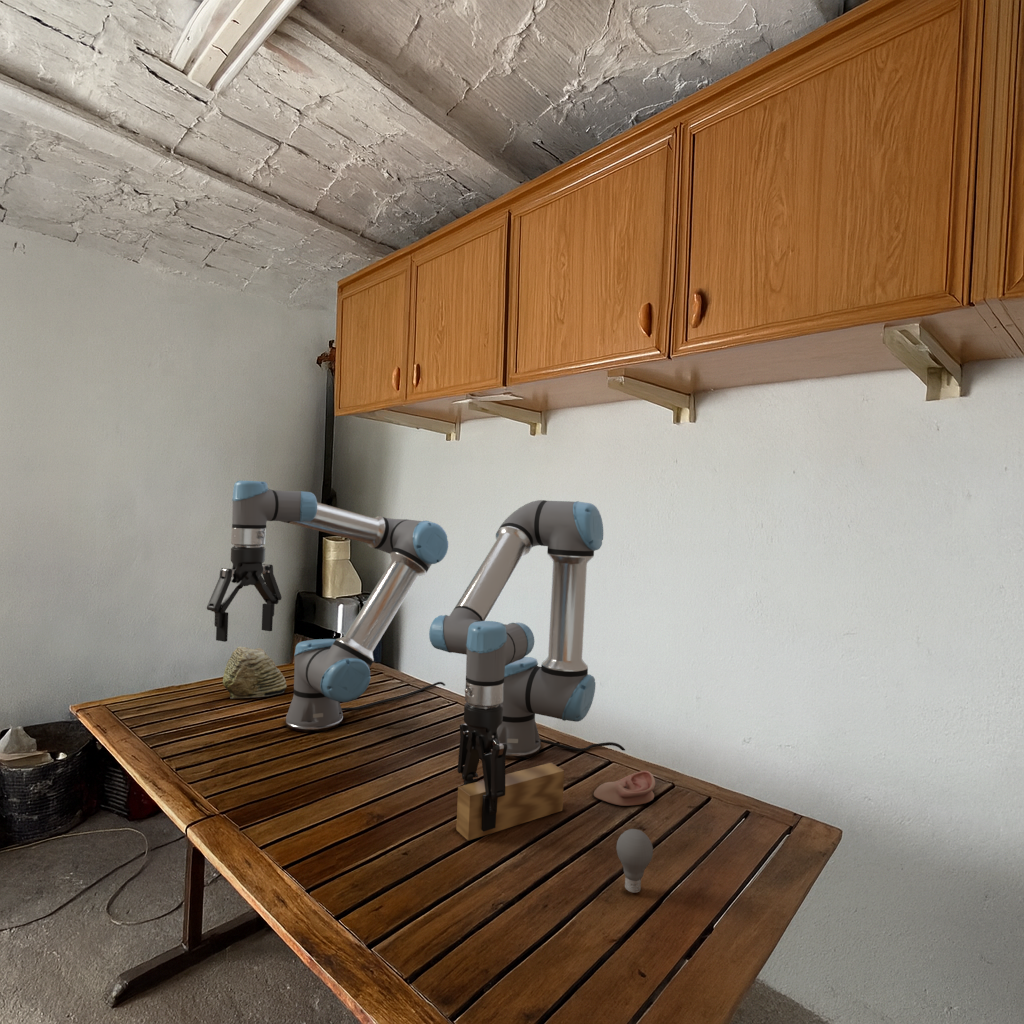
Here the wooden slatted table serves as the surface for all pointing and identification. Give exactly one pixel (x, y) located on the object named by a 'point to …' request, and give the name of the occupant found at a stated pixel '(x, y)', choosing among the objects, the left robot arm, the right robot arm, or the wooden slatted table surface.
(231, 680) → the fossil
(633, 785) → the anatomical model
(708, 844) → the wooden slatted table surface
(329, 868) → the wooden slatted table surface
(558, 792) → the bar
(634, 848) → the light bulb
